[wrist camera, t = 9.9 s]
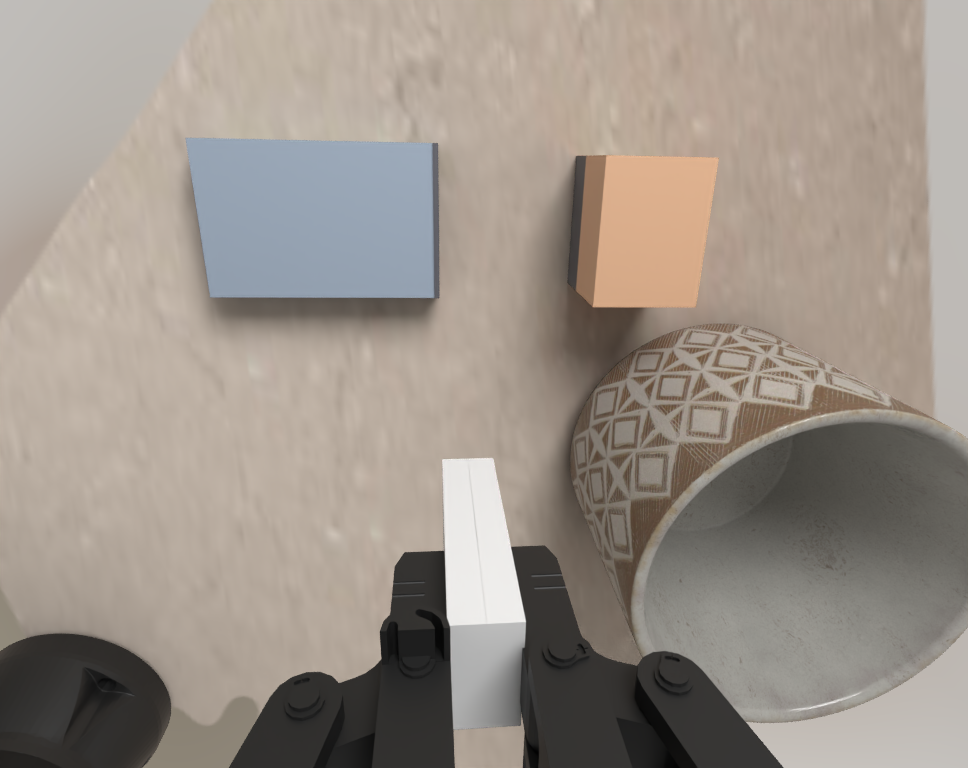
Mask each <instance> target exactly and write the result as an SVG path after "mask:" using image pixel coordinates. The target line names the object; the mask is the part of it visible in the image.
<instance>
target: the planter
mask: <svg viewBox="0 0 968 768" xmlns="http://www.w3.org/2000/svg"><path fill="white" fill-rule="evenodd" d="M570 468H571V478H572V483H573V487H574V491H575V494H576V497H577V499H578V502H579V504H580V507H581V509H582V512H583V514H584V517H585V519H586V522H587V524H588V526H589V529H590V531H591V534H592V536H593V539H594V541H595V544H596V546H597V549H598V551H599V554H600V556H601V558H602V561H603V563H604V566H605V568H606V571H607V573H608V576H609V578H610V581H611V583H612V586H613V588H614V590H615V593H616V595H617V598H618V600H619V603H620V605H621V608H622V610H623V613H624V615H625V618H626V620H627V622H628V625H629V627H630V630H631V632H632V635H633V637H634V640H635V642H636V645H637V647H638V650H639V652H640V654H641V656H642V658H643V657H644V656H646V655H648V654H650V653H652V652H659V651H668V652H673V653H677V654H680V655H682V656H684V657H686V658H688V659H690V660H692V661H693V662H694V663H695V664H696V665H697V666H699V667H700V668H701V669H702V670H703V671H704V673H705V674H706V675H707V676H708V677H709V679H710V680H711V681H712V682H713V683H714V685H715V686H716V687H717V688H718V689H719V691H720V692H721V693H722V694H723V695H724V697H725V698H726V699H727V700H728V701H729V703H730V704H731V705H732V706H733V707H734V709H735V710H736V711H737V712H738V714H739V715H740V716H741V717H742V718H743V720H744V721H746V722H757V723H758V722H759V723H779V722H793V721H801V720H807V719H813V718H817V717H822V716H826V715H830V714H834V713H838V712H841V711H844V710H847V709H850V708H852V707H855V706H858V705H860V704H863V703H865V702H868V701H870V700H872V699H874V698H877V697H879V696H881V695H882V694H885V693H887V692H888V691H890V690H892V689H894V688H895V687H897V686H899V685H901V684H902V683H904V682H906V681H907V680H909V679H910V678H912V677H913V676H915V675H916V674H917V673H919V672H920V671H922V670H923V669H924V668H926V667H927V666H928V665H930V664H931V663H932V662H933V661H935V660H936V659H937V658H938V657H939V656H940V655H942V653H944V652H945V651H946V650H947V649H948V648H949V647H950V646H951V645H952V644H953V643H954V642H955V641H956V640H957V639H958V638H959V637H960V635H961V634H962V633H963V632H964V631H965V630H966V629H967V627H968V439H967V438H966V437H965V436H963V435H962V434H960V433H959V432H957V431H955V430H954V429H952V428H950V427H948V426H947V425H945V424H943V423H941V422H939V421H937V420H935V419H933V418H932V417H930V416H928V415H926V414H924V413H922V412H920V411H918V410H916V409H914V408H913V407H911V406H909V405H907V404H905V403H903V402H901V401H899V400H897V399H895V398H893V397H892V396H890V395H888V394H886V393H884V392H882V391H880V390H878V389H876V388H874V387H873V386H871V385H869V384H867V383H865V382H863V381H861V380H859V379H857V378H855V377H853V376H852V375H850V374H848V373H846V372H844V371H842V370H840V369H838V368H836V367H834V366H833V365H831V364H829V363H827V362H825V361H823V360H821V359H819V358H817V357H815V356H814V355H812V354H810V353H808V352H806V351H804V350H802V349H800V348H798V347H796V346H794V345H793V344H791V343H789V342H787V341H785V340H783V339H781V338H779V337H777V336H775V335H773V334H771V333H768V332H766V331H763V330H760V329H756V328H753V327H748V326H742V325H734V324H706V325H699V326H693V327H689V328H684V329H681V330H677V331H674V332H671V333H669V334H666V335H663V336H661V337H659V338H657V339H654V340H652V341H650V342H649V343H647V344H645V345H643V346H641V347H640V348H638V349H637V350H635V351H634V352H632V353H631V354H629V355H628V356H627V357H625V358H624V359H623V360H622V361H621V362H619V363H618V364H617V365H616V366H615V367H614V368H613V369H612V370H611V371H610V372H609V373H608V374H607V375H606V376H605V377H604V378H603V379H602V381H601V382H600V383H599V384H598V386H597V387H596V388H595V390H594V391H593V393H592V394H591V396H590V397H589V399H588V401H587V402H586V404H585V406H584V408H583V410H582V412H581V414H580V417H579V419H578V422H577V425H576V428H575V431H574V435H573V440H572V445H571V454H570Z"/></svg>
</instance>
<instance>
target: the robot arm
mask: <svg viewBox="0 0 968 768" xmlns="http://www.w3.org/2000/svg"><path fill="white" fill-rule="evenodd" d="M442 474H443V543H444V551H430V552H405V553H404V554H403V556H402V557H401V558H400V560H399V561H398V563H397V564H396V566H395V571H394V581H393V592H392V602H391V613H390V615H389V616H388V617H387V618H386V619H385V620H384V622H383V624H382V627H381V630H380V642H381V657H382V659H381V660H380V662H379V663H378V664H377V665H376V666H375V667H374V668H372V669H371V670H369V671H368V672H367V673H365V674H363V675H360V676H358V677H356V678H353V679H350V680H347V681H344V682H342V683H338V682H337V681H336V680H335V679H334V678H333V677H332V676H330V675H327V674H324V673H321V672H306V673H303V674H300V675H297V676H294V677H292V678H290V679H289V680H287V681H286V682H284V683H283V684H281V685H280V686H279V687H278V688H277V689H276V691H275V692H274V693H273V694H272V695H271V697H270V698H269V700H268V702H267V703H266V705H265V707H264V709H263V710H262V712H261V714H260V715H259V717H258V719H257V721H256V722H255V724H254V726H253V727H252V729H251V731H250V733H249V734H248V736H247V738H246V739H245V741H244V743H243V745H242V746H241V748H240V750H239V751H238V753H237V755H236V757H235V758H234V760H233V762H232V763H231V765H230V767H229V768H455V763H454V736H453V730H459V729H474V728H490V727H505V726H521V712H522V718H523V724H524V730H525V737H524V756H523V768H783V767H782V765H781V764H780V763H779V762H778V761H777V759H776V758H775V757H774V756H773V755H772V753H771V752H770V751H769V750H768V748H767V747H766V746H765V745H764V744H763V742H762V741H761V740H760V739H759V738H758V736H757V735H756V734H755V733H754V732H753V730H752V729H751V728H750V727H749V726H748V724H747V723H746V722H745V721H744V720H743V718H742V717H741V716H740V715H739V714H738V712H737V711H736V710H735V709H734V707H733V706H732V705H731V704H730V703H729V701H728V700H727V699H726V698H725V697H724V695H723V694H722V693H721V692H720V691H719V689H718V688H717V687H716V686H715V685H714V683H713V682H712V681H711V680H710V679H709V677H708V676H707V675H706V674H705V673H704V671H703V670H702V669H701V668H700V667H699V666H697V665H696V664H695V663H694V662H693V661H692V660H690V659H688V658H686V657H684V656H682V655H680V654H677V653H673V652H668V651H659V652H652V653H650V654H648V655H646V656H644V657H643V658H642V660H641V661H640V663H639V664H638V666H635V665H631V664H626V663H622V662H617V661H614V660H611V659H607V658H605V657H603V656H601V655H599V654H598V653H596V652H595V651H594V650H593V649H592V647H591V645H590V644H589V643H588V642H587V641H586V640H585V639H584V638H582V636H581V634H580V631H579V628H578V625H577V621H576V618H575V615H574V612H573V608H572V605H571V602H570V599H569V596H568V592H567V589H566V588H565V583H564V580H563V576H562V573H561V570H560V567H559V564H558V560H557V558H556V557H555V556H554V555H553V554H552V553H551V552H550V551H549V550H548V549H547V547H546V546H522V547H511V545H510V540H509V535H508V530H507V525H506V520H505V515H504V510H503V505H502V500H501V495H500V490H499V485H498V480H497V475H496V471H495V466H494V461H493V458H473V459H442ZM170 716H171V703H170V698H169V694H168V692H167V689H166V687H165V685H164V683H163V682H162V680H161V679H160V677H159V676H158V675H157V674H156V672H155V671H154V670H153V669H152V668H151V667H150V666H149V665H148V664H147V663H145V662H144V661H143V660H142V659H140V658H139V657H137V656H136V655H134V654H133V653H131V652H129V651H128V650H126V649H124V648H122V647H120V646H117V645H115V644H112V643H110V642H107V641H104V640H101V639H97V638H93V637H88V636H83V635H75V634H47V635H39V636H34V637H30V638H26V639H23V640H21V641H18V642H16V643H13V644H12V645H9V646H8V647H6V648H4V649H3V650H1V651H0V768H142V767H143V766H144V765H145V764H146V763H147V762H148V761H149V759H150V758H151V757H152V755H153V754H154V752H155V751H156V749H157V747H158V745H159V743H160V741H161V739H162V737H163V735H164V732H165V730H166V728H167V726H168V723H169V720H170Z"/></svg>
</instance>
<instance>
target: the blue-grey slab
mask: <svg viewBox="0 0 968 768" xmlns="http://www.w3.org/2000/svg"><path fill="white" fill-rule="evenodd" d="M186 144H187V151H188V157H189V163H190V170H191V176H192V183H193V189H194V196H195V202H196V209H197V215H198V222H199V228H200V234H201V241H202V247H203V254H204V260H205V267H206V273H207V280H208V286H209V293H210V297H277V298H439V200H438V143H399V142H353V141H307V140H262V139H216V138H186Z"/></svg>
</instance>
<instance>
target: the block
mask: <svg viewBox="0 0 968 768" xmlns="http://www.w3.org/2000/svg"><path fill="white" fill-rule="evenodd" d="M718 160H719V158H710V157H662V156H614V155H600V156H577V157H576V171H575V185H574V199H573V213H572V227H571V241H570V255H569V269H568V284H569V285H570V286H572V287H573V288H574V289H575V290H576V291H577V292H578V293H579V294H580V295H581V296H582V297H583V298H584V299H585V300H586V301H587V302H588V303H589V304H590V305H591V306H592V307H696V303H697V297H698V290H699V284H700V277H701V271H702V264H703V258H704V251H705V245H706V238H707V232H708V225H709V219H710V212H711V206H712V199H713V193H714V186H715V180H716V173H717V167H718Z"/></svg>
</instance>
